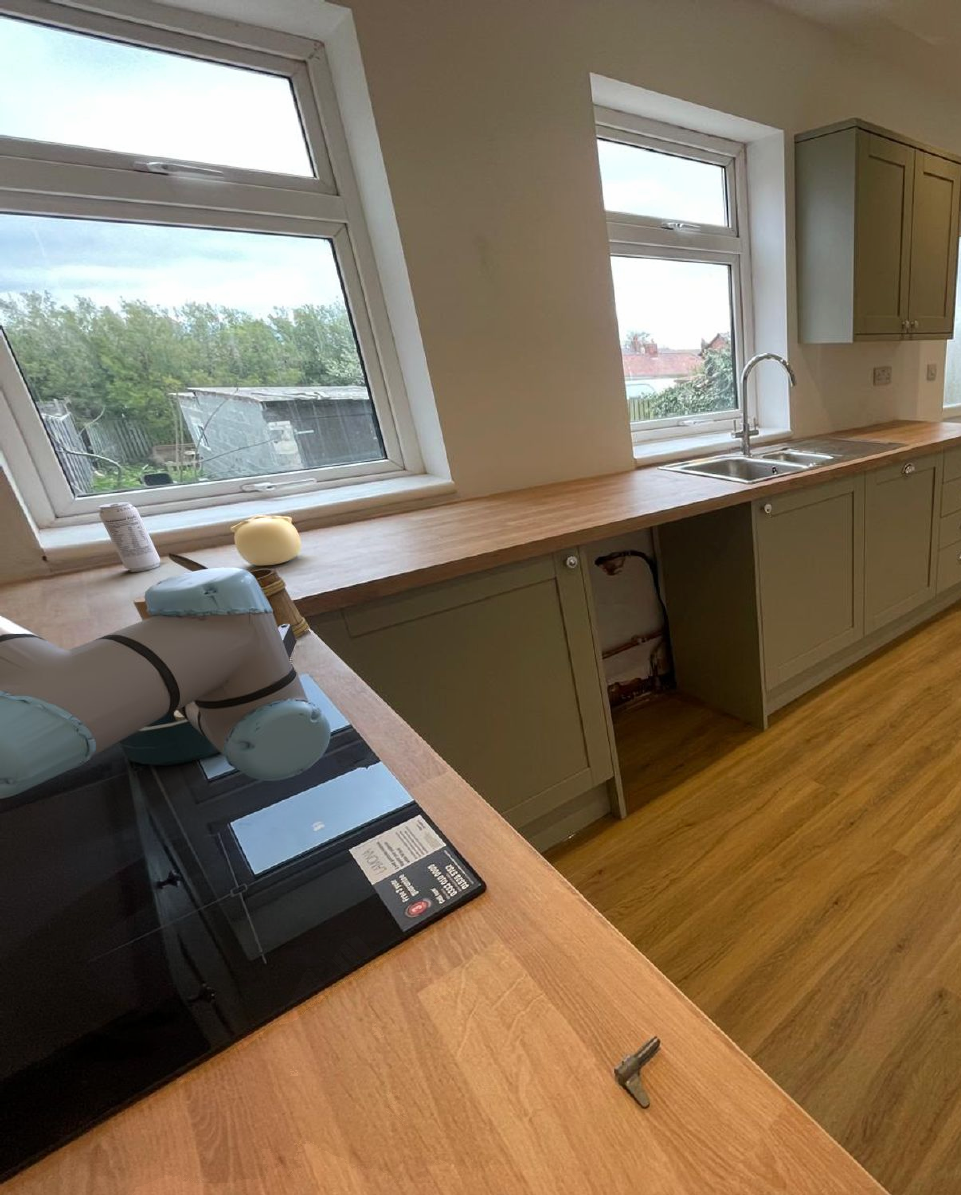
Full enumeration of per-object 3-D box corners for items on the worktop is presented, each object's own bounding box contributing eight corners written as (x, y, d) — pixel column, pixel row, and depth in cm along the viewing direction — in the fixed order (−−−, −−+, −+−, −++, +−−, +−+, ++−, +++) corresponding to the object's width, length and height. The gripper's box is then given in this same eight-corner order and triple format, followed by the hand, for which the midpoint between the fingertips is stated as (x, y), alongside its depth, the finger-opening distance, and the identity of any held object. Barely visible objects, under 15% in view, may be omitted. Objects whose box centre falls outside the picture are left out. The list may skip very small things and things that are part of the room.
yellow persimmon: (304, 549, 155) (288, 506, 151) (308, 561, 146) (291, 515, 142) (244, 561, 148) (225, 516, 144) (245, 575, 140) (225, 527, 135)
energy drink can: (164, 561, 151) (136, 499, 145) (159, 568, 147) (129, 504, 141) (130, 567, 148) (99, 504, 142) (124, 574, 144) (92, 509, 138)
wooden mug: (201, 655, 104) (151, 550, 97) (290, 621, 115) (252, 524, 108) (231, 665, 100) (182, 556, 93) (321, 628, 112) (283, 529, 104)
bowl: (115, 787, 74) (92, 747, 71) (143, 725, 85) (124, 689, 83) (283, 736, 82) (267, 699, 79) (286, 686, 93) (272, 652, 91)
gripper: (350, 622, 75) (280, 587, 86) (41, 729, 56) (4, 667, 68) (370, 677, 78) (300, 637, 89) (82, 797, 59) (41, 727, 71)
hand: (172, 650), depth 79 cm, fingers open, 13 cm apart
